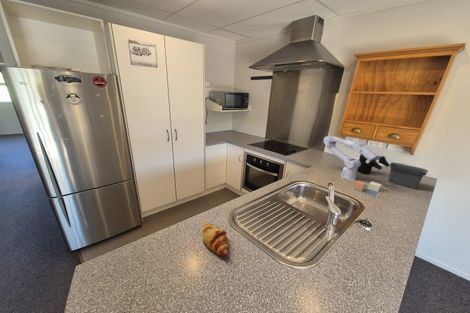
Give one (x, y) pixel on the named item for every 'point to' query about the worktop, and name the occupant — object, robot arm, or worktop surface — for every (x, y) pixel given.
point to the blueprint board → (371, 189)
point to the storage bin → (406, 175)
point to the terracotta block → (359, 186)
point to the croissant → (215, 239)
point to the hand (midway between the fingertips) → (384, 167)
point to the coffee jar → (364, 166)
